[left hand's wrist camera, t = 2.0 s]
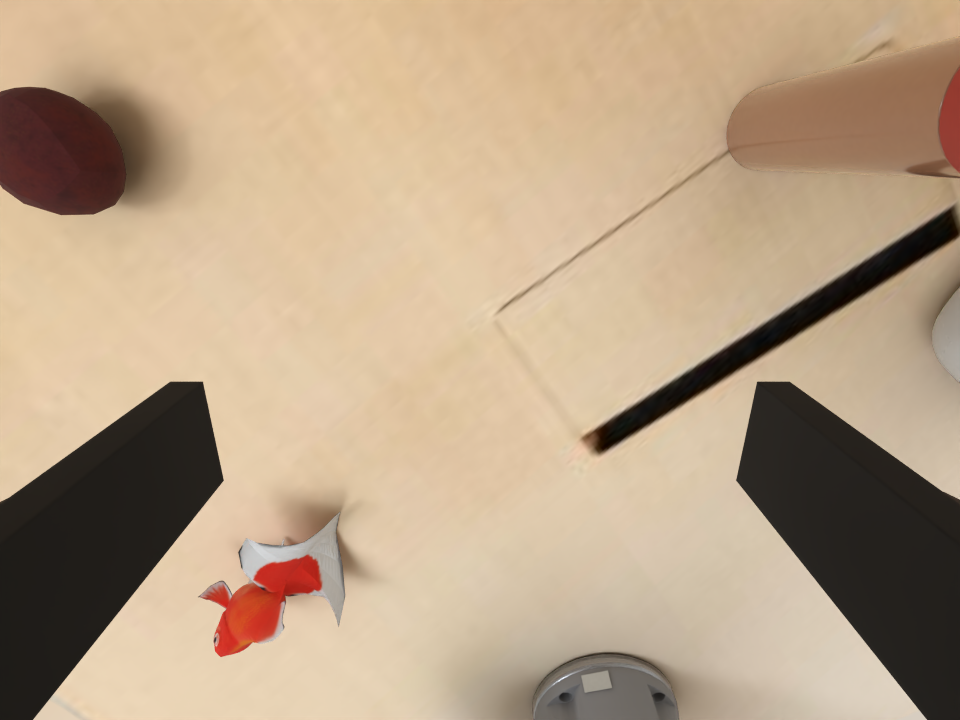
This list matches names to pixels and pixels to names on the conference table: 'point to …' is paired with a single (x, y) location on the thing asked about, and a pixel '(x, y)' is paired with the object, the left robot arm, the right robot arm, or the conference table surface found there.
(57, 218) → the conference table surface
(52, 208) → the dark maroon ball
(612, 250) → the conference table surface
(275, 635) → the fish
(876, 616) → the left robot arm
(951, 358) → the projector
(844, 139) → the jar
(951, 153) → the lid
